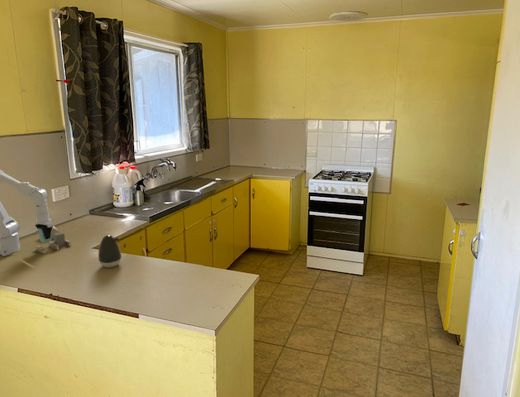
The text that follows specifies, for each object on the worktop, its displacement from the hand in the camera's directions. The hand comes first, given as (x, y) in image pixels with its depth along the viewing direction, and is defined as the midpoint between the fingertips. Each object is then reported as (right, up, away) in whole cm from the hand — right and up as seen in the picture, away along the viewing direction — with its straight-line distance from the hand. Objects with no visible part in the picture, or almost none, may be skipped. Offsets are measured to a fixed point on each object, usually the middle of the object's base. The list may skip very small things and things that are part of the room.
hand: (45, 237), depth 202 cm
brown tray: (+2, -7, +4) cm, 8 cm away
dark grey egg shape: (+40, -12, -16) cm, 45 cm away
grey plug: (+4, -5, +7) cm, 9 cm away
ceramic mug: (-8, -2, +22) cm, 23 cm away
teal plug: (0, -2, 0) cm, 2 cm away
